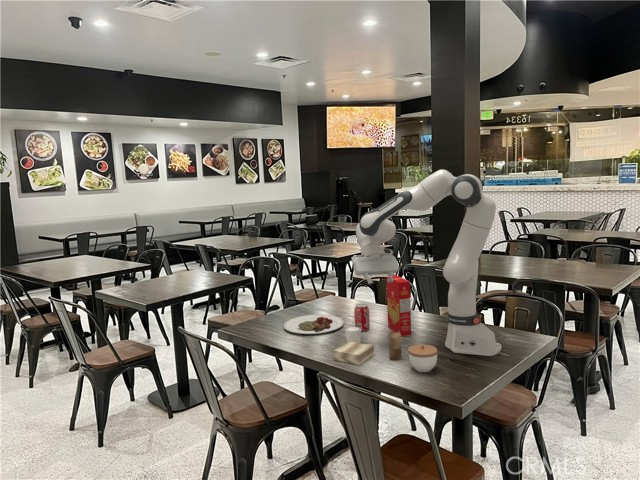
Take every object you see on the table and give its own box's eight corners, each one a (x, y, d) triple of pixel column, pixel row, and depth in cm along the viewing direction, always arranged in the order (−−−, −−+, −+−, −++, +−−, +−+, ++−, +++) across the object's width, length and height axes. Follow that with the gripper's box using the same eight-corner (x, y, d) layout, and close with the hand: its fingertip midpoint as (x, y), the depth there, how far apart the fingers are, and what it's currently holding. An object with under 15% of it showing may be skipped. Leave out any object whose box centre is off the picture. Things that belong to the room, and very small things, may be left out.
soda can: (369, 327, 232) (368, 303, 230) (369, 331, 225) (368, 307, 223) (355, 327, 232) (354, 303, 231) (354, 332, 225) (353, 307, 224)
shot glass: (353, 340, 214) (352, 325, 213) (364, 343, 209) (364, 328, 208) (342, 344, 209) (342, 329, 209) (354, 348, 205) (353, 332, 204)
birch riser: (374, 354, 196) (374, 345, 195) (359, 365, 186) (359, 355, 185) (349, 350, 203) (349, 341, 202) (334, 359, 193) (333, 350, 192)
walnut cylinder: (403, 356, 192) (402, 333, 191) (398, 361, 188) (397, 336, 187) (392, 354, 195) (391, 331, 194) (386, 359, 191) (386, 335, 189)
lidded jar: (412, 375, 174) (411, 351, 173) (405, 364, 184) (405, 341, 183) (441, 373, 174) (441, 349, 173) (433, 362, 185) (432, 339, 184)
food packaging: (388, 326, 230) (386, 276, 227) (398, 325, 232) (396, 275, 228) (400, 336, 216) (398, 282, 213) (411, 334, 217) (409, 281, 214)
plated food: (273, 334, 229) (273, 327, 229) (298, 316, 257) (297, 310, 256) (332, 339, 218) (331, 331, 218) (351, 319, 246) (351, 313, 246)
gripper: (352, 251, 202) (361, 280, 195) (395, 250, 209) (404, 277, 202) (348, 259, 207) (356, 287, 200) (389, 257, 214) (398, 284, 207)
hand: (380, 282), depth 201 cm, fingers open, 8 cm apart
